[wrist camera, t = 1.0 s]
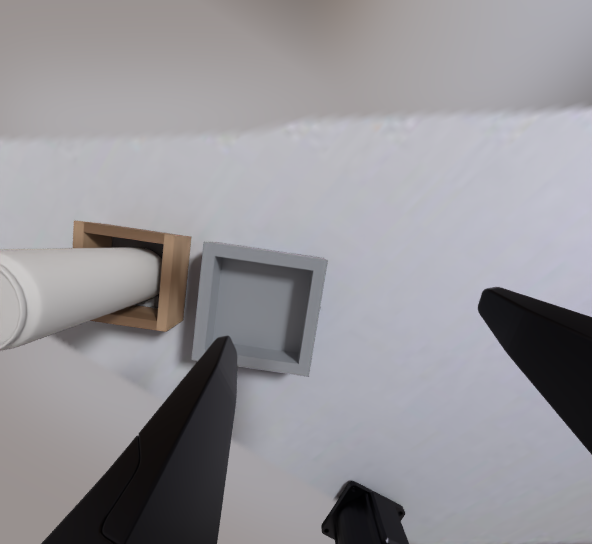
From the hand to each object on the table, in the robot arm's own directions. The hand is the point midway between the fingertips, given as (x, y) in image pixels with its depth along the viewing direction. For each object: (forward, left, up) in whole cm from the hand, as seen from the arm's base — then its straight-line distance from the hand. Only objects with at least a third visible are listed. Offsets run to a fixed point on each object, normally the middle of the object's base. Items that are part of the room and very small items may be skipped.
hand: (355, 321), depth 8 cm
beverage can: (-8, +14, -14) cm, 22 cm away
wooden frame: (-8, +14, -14) cm, 21 cm away
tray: (-5, +3, -14) cm, 15 cm away
